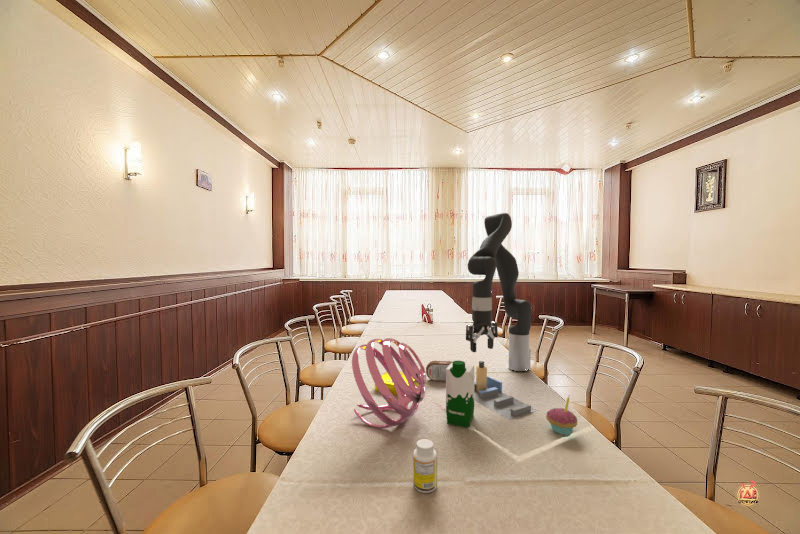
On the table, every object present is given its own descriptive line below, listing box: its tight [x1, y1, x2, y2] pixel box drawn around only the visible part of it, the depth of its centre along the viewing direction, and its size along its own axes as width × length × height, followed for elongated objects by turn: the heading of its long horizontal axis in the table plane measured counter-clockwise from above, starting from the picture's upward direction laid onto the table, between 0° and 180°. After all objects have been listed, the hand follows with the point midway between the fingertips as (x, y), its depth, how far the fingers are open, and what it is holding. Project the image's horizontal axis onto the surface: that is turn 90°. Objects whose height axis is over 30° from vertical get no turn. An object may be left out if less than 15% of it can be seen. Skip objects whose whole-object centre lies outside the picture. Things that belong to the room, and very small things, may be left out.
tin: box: [425, 360, 453, 382], centre depth 143 cm, size 15×3×8 cm, turn 84°
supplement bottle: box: [412, 438, 438, 494], centre depth 77 cm, size 6×6×10 cm
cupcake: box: [545, 394, 578, 438], centre depth 100 cm, size 9×8×12 cm
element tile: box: [374, 370, 419, 396], centre depth 136 cm, size 15×15×5 cm
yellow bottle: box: [475, 360, 488, 394], centre depth 128 cm, size 4×4×12 cm
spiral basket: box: [351, 337, 427, 429], centre depth 109 cm, size 28×28×27 cm
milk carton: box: [445, 360, 476, 429], centre depth 108 cm, size 9×9×20 cm
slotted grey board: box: [474, 375, 539, 421], centre depth 121 cm, size 14×26×5 cm, turn 29°
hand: (482, 350), depth 127 cm, fingers open, 8 cm apart
